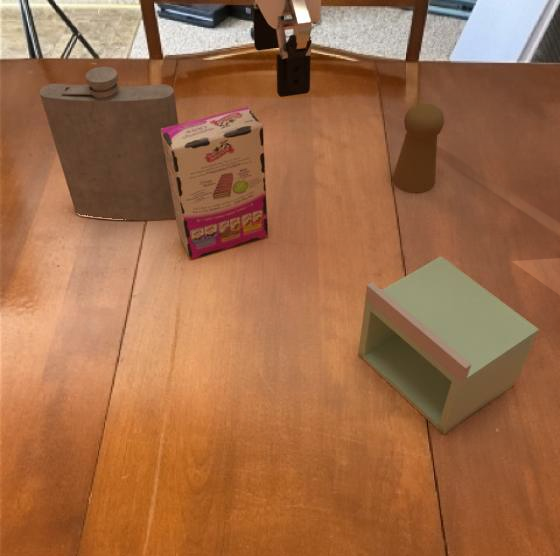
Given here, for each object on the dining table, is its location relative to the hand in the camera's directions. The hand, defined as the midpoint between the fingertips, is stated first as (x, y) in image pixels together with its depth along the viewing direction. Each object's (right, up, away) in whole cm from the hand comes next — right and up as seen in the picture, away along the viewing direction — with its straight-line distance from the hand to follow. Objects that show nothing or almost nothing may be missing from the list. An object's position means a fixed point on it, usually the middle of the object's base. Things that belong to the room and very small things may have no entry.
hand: (280, 69), depth 70 cm
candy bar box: (-8, -13, +20) cm, 26 cm away
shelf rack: (+17, -31, +6) cm, 36 cm away
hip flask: (-20, -9, +24) cm, 33 cm away
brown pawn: (+19, -4, +28) cm, 34 cm away
